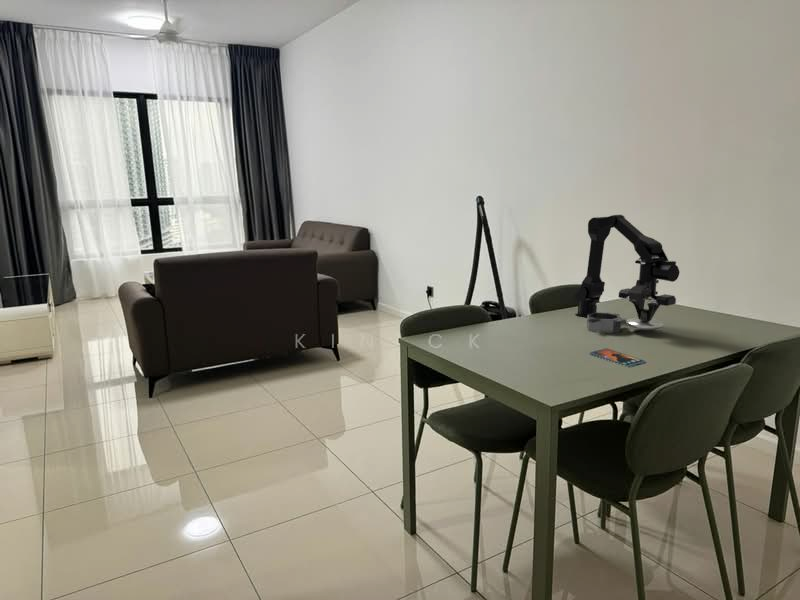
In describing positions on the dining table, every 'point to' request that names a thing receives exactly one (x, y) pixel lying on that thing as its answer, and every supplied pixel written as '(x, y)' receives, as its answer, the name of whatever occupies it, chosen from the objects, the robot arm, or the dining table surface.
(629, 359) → the smartphone
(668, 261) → the robot arm
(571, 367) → the dining table surface
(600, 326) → the pot
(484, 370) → the dining table surface
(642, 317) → the lid
